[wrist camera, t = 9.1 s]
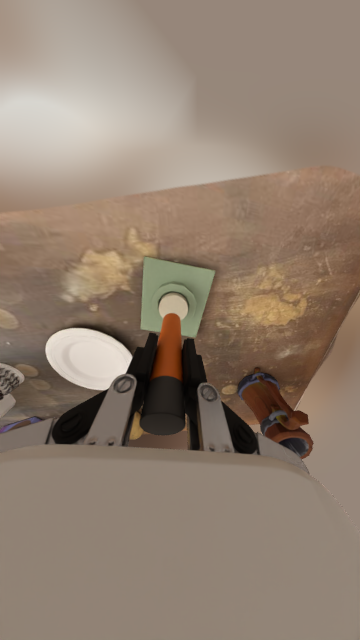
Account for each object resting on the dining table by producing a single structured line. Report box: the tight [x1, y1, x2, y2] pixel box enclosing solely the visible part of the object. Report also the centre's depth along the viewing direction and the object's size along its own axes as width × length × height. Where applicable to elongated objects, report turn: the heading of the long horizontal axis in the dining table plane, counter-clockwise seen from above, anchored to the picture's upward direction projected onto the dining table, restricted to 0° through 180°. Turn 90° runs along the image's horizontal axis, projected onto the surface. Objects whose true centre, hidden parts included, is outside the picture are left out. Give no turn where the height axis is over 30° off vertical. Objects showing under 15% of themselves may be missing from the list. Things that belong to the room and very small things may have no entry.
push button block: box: [141, 256, 215, 337], centre depth 24 cm, size 14×12×3 cm
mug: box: [237, 368, 313, 459], centre depth 30 cm, size 18×12×15 cm, turn 14°
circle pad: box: [159, 292, 188, 320], centre depth 22 cm, size 5×5×2 cm
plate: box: [45, 328, 133, 390], centre depth 32 cm, size 21×21×2 cm
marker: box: [139, 313, 185, 435], centre depth 11 cm, size 2×2×11 cm
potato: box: [130, 412, 143, 439], centre depth 42 cm, size 7×11×6 cm, turn 9°
